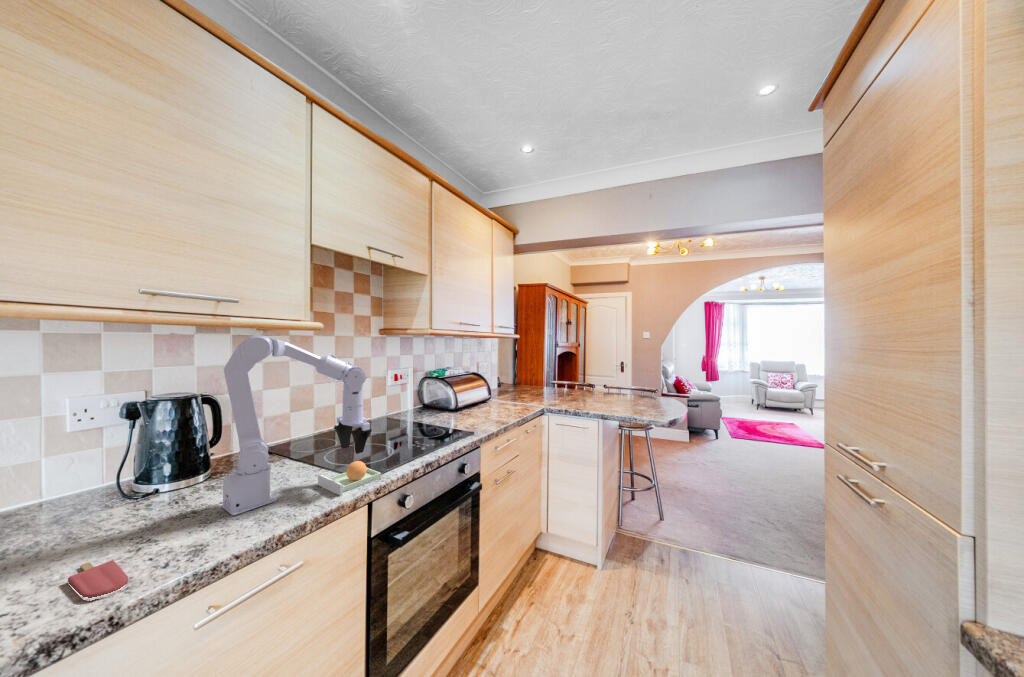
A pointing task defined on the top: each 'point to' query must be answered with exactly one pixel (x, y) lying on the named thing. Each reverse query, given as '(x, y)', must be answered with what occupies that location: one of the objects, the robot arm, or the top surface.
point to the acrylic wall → (330, 484)
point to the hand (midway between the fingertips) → (352, 450)
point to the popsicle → (98, 579)
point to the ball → (356, 470)
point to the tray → (351, 484)
